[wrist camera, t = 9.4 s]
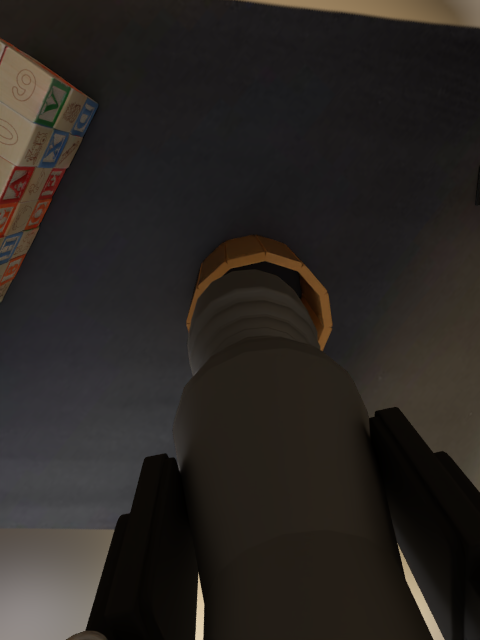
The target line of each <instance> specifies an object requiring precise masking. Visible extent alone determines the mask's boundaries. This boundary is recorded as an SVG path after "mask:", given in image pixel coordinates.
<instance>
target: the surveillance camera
mask: <svg viewBox="0 0 480 640" xmlns="http://www.w3.org/2000/svg"><path fill="white" fill-rule="evenodd" d="M475 205H480V169H479V178H478V186H477V195H476V203H475Z"/></svg>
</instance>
